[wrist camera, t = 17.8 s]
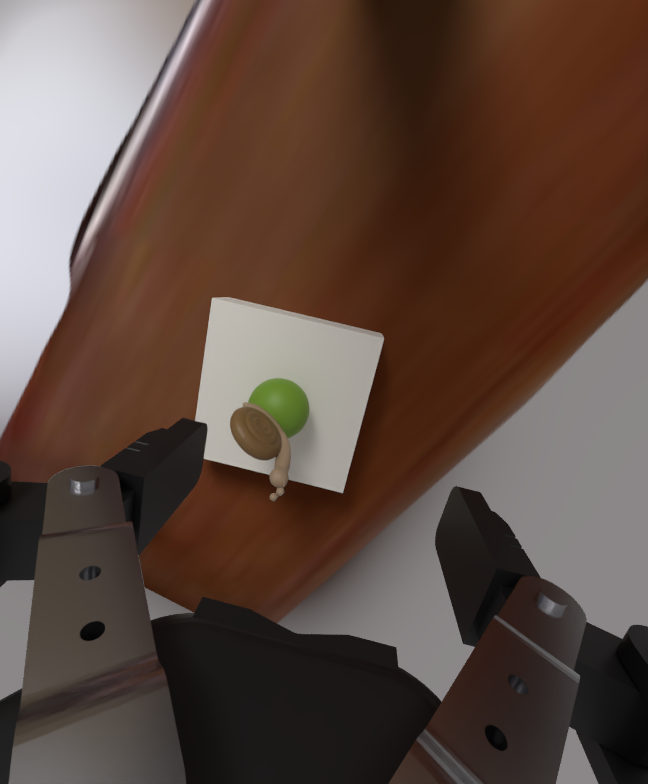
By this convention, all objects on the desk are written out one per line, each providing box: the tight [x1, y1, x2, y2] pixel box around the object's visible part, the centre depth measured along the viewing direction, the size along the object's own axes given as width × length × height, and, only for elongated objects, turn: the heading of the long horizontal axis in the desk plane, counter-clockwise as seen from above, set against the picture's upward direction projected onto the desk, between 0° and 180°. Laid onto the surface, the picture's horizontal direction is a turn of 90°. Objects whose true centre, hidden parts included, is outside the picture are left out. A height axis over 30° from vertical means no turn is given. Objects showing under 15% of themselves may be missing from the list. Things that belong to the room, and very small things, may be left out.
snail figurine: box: [230, 378, 309, 501], centre depth 30 cm, size 5×6×12 cm
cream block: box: [195, 297, 384, 493], centre depth 38 cm, size 16×16×5 cm
